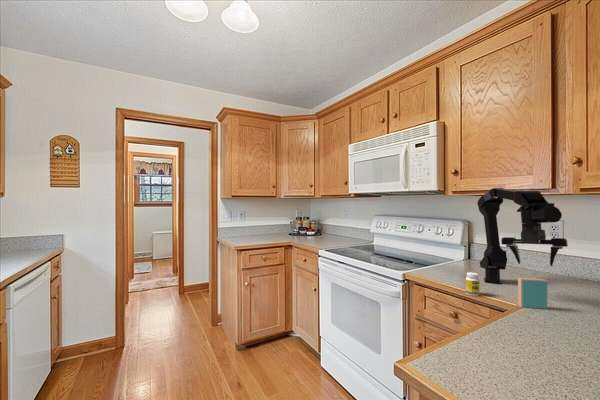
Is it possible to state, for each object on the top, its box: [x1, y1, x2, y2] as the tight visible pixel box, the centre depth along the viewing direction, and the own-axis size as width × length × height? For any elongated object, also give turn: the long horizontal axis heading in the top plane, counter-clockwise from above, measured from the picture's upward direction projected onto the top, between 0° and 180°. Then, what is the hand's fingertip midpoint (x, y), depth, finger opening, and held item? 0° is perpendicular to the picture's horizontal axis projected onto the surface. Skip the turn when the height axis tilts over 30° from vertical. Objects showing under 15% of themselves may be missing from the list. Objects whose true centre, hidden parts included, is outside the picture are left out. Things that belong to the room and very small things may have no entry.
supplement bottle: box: [465, 271, 480, 297], centre depth 112 cm, size 5×5×8 cm
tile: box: [517, 277, 548, 310], centre depth 98 cm, size 2×8×10 cm, turn 77°
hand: (534, 264), depth 103 cm, fingers open, 9 cm apart
